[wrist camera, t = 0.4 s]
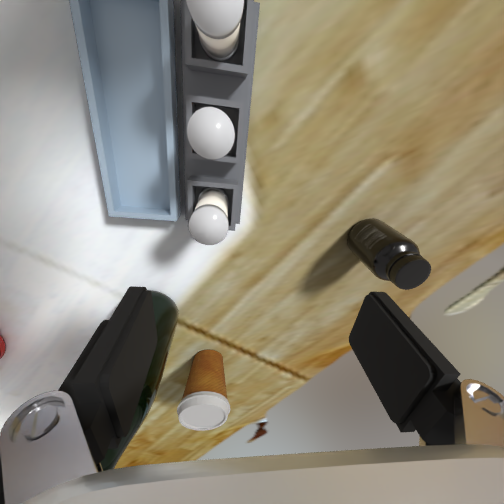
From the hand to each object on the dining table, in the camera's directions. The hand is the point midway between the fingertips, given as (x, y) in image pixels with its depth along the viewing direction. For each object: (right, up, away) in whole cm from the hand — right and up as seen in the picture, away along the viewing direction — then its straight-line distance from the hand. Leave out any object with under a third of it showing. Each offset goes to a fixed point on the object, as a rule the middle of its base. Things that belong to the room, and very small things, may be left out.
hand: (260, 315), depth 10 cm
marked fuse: (-5, +18, +20) cm, 27 cm away
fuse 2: (-6, +10, +24) cm, 26 cm away
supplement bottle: (+19, +6, +31) cm, 37 cm away
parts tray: (-14, +19, +20) cm, 31 cm away
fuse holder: (-5, +19, +21) cm, 28 cm away
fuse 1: (-4, +26, +15) cm, 30 cm away
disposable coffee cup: (-10, -21, +42) cm, 48 cm away
